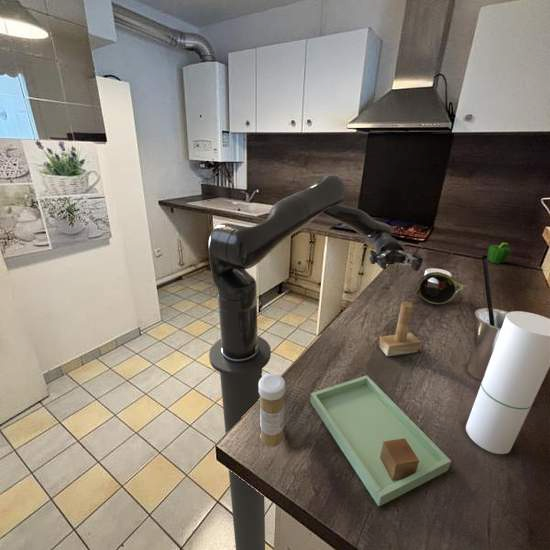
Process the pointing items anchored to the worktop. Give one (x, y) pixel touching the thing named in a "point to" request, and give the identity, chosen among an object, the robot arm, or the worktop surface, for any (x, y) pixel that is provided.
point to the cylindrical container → (510, 381)
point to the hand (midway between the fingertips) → (400, 266)
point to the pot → (444, 282)
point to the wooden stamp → (401, 335)
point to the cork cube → (398, 459)
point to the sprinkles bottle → (271, 409)
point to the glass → (485, 331)
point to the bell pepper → (498, 253)
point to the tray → (375, 436)
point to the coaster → (436, 271)
